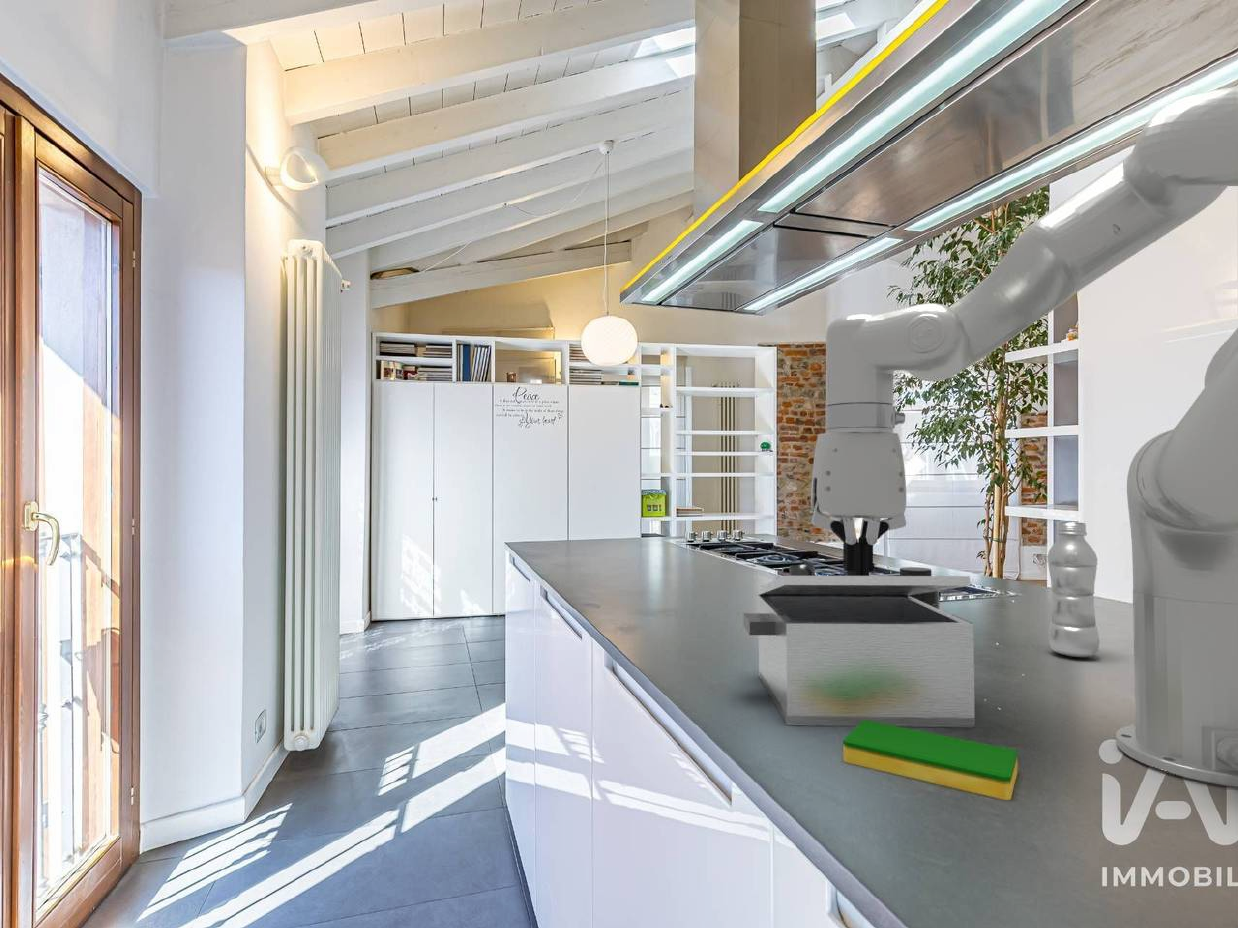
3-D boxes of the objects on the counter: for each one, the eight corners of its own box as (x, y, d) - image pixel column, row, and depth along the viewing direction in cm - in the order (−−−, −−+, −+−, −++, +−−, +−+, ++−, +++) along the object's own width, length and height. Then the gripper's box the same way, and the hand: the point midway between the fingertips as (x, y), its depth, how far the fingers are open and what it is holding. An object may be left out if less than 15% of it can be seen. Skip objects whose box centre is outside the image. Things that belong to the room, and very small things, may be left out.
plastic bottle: (1050, 658, 100) (1048, 523, 100) (1046, 648, 106) (1044, 521, 106) (1103, 664, 97) (1101, 524, 97) (1096, 653, 103) (1093, 522, 103)
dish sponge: (863, 741, 70) (863, 718, 70) (1018, 775, 62) (1017, 748, 62) (842, 765, 64) (842, 739, 64) (1010, 806, 56) (1009, 776, 56)
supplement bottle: (921, 636, 114) (920, 565, 115) (950, 645, 108) (948, 570, 108) (885, 638, 113) (884, 566, 113) (912, 648, 106) (911, 572, 106)
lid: (970, 585, 73) (967, 557, 74) (785, 584, 74) (783, 557, 75) (908, 595, 91) (905, 573, 92) (758, 594, 92) (757, 572, 92)
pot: (1003, 727, 72) (1001, 624, 73) (759, 724, 73) (758, 623, 74) (931, 677, 90) (930, 595, 91) (736, 676, 91) (736, 594, 92)
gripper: (910, 424, 83) (910, 574, 83) (788, 424, 84) (787, 571, 84) (936, 419, 76) (936, 583, 75) (801, 419, 76) (800, 581, 76)
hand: (857, 577), depth 79 cm, fingers closed
